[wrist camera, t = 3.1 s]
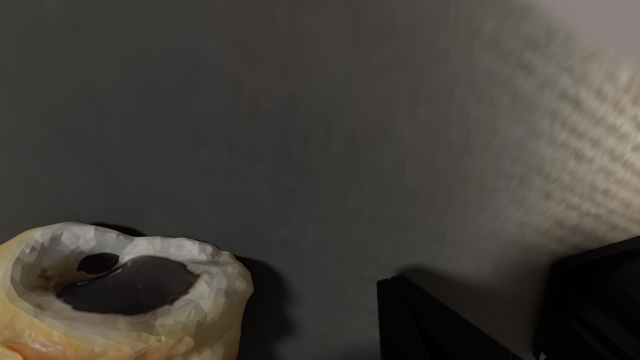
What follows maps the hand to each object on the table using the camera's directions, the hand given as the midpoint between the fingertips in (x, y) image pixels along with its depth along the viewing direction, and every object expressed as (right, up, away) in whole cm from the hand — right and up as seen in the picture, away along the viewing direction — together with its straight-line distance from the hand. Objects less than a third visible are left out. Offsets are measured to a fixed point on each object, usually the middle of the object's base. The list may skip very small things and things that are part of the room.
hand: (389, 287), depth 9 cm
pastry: (-8, -1, +1) cm, 9 cm away
